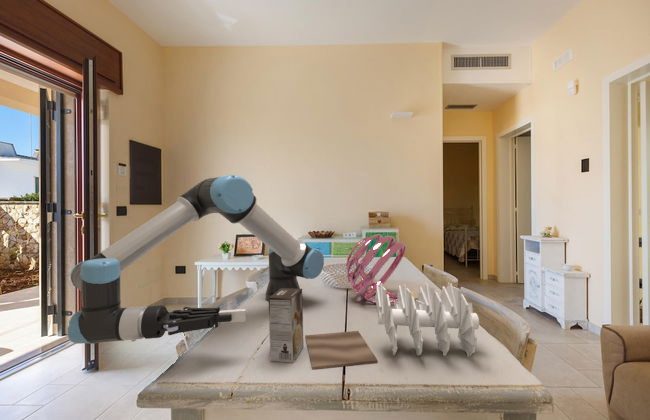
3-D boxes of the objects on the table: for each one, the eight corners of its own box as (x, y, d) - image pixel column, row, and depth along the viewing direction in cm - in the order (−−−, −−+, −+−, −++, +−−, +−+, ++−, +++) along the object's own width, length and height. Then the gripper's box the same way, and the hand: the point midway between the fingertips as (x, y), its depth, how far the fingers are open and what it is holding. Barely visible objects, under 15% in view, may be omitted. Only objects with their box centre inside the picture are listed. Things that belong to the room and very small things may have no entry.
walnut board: (305, 337, 89) (305, 335, 89) (358, 332, 91) (358, 330, 91) (312, 369, 71) (312, 366, 71) (377, 362, 73) (377, 360, 73)
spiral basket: (439, 252, 120) (384, 214, 132) (408, 282, 99) (346, 234, 111) (408, 297, 135) (361, 259, 147) (376, 331, 114) (324, 284, 126)
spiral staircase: (481, 376, 74) (378, 370, 75) (458, 321, 90) (373, 316, 91) (501, 321, 66) (385, 315, 67) (471, 271, 82) (378, 267, 83)
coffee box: (281, 345, 84) (280, 287, 84) (304, 346, 83) (302, 288, 83) (269, 361, 75) (267, 297, 75) (294, 363, 74) (292, 298, 74)
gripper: (157, 327, 80) (248, 320, 84) (133, 350, 67) (243, 340, 71) (156, 299, 80) (248, 293, 83) (133, 316, 67) (242, 308, 71)
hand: (245, 315), depth 77 cm, fingers closed
